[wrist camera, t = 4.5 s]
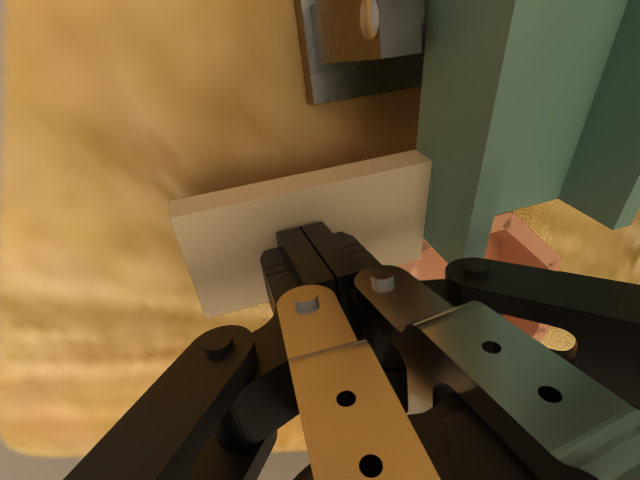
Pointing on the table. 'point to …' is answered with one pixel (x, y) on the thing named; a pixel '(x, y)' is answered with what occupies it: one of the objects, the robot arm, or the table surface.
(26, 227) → the table surface
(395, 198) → the chute
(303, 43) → the chute stand
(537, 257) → the pink octagonal bowl
